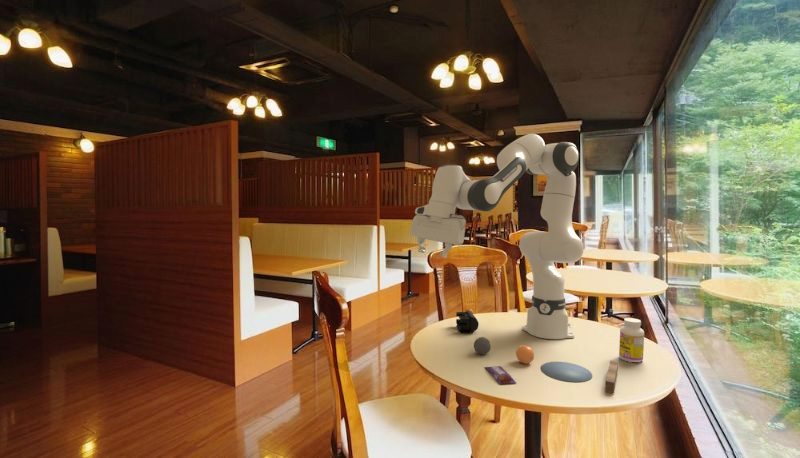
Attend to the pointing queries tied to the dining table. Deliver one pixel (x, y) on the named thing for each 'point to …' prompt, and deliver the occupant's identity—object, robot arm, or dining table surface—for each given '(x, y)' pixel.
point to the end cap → (466, 322)
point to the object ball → (525, 354)
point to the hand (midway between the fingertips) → (431, 254)
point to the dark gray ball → (482, 345)
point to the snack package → (500, 375)
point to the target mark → (566, 371)
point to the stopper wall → (611, 377)
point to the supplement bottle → (631, 341)
